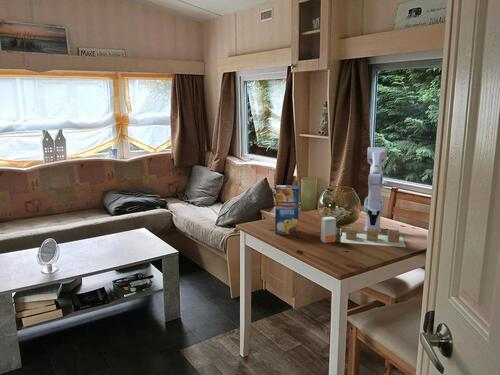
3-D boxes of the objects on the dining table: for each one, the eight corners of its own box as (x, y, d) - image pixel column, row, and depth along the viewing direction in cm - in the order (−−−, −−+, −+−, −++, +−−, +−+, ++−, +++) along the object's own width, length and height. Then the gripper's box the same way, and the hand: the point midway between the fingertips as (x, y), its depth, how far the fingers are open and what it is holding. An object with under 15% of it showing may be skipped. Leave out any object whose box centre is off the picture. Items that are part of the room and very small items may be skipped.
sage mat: (341, 233, 225) (341, 232, 225) (402, 237, 219) (402, 236, 219) (340, 243, 210) (340, 242, 210) (405, 247, 204) (405, 246, 203)
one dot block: (387, 238, 215) (388, 228, 214) (397, 239, 214) (398, 229, 213) (388, 242, 210) (388, 231, 209) (399, 242, 209) (399, 232, 208)
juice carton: (298, 229, 231) (299, 185, 226) (298, 234, 224) (299, 188, 219) (275, 229, 232) (276, 185, 227) (274, 233, 225) (275, 188, 220)
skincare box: (324, 243, 210) (325, 219, 207) (320, 240, 214) (321, 217, 211) (335, 242, 211) (336, 218, 209) (331, 239, 215) (332, 216, 213)
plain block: (366, 237, 217) (367, 227, 216) (376, 238, 216) (377, 228, 215) (366, 240, 213) (367, 230, 212) (377, 241, 211) (378, 231, 210)
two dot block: (346, 236, 220) (346, 226, 219) (356, 236, 218) (356, 226, 217) (345, 239, 215) (346, 229, 214) (356, 239, 214) (356, 229, 212)
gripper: (365, 194, 218) (363, 220, 221) (366, 201, 204) (364, 228, 207) (380, 195, 216) (378, 221, 219) (381, 202, 203) (380, 229, 205)
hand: (372, 225), depth 213 cm, fingers closed
